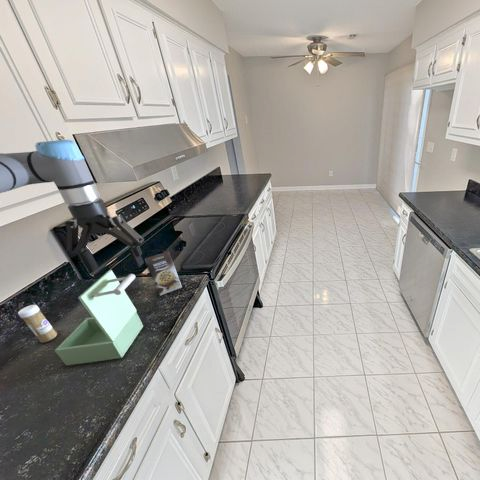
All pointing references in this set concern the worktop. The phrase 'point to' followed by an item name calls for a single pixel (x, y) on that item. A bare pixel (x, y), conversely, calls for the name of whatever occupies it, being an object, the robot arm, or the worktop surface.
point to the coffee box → (163, 273)
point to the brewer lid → (109, 303)
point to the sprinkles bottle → (37, 323)
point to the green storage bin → (97, 342)
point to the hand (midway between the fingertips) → (117, 267)
